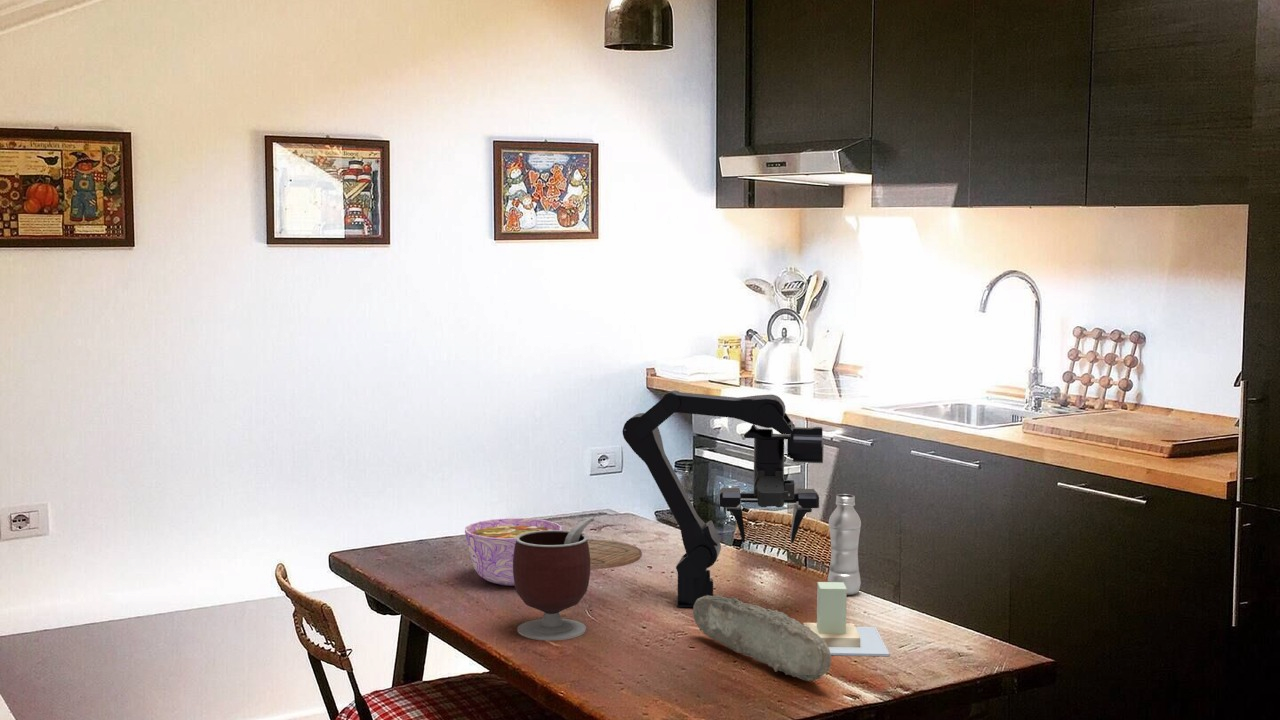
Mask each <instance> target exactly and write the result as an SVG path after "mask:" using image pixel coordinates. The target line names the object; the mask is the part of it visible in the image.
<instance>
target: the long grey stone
mask: <svg viewBox="0 0 1280 720" xmlns="http://www.w3.org/2000/svg"><path fill="white" fill-rule="evenodd" d="M692 608H693V610H692V611H693V612H692V613H693V619H694V622H695V624H696V626H697V627H698V628H699V631H702V633H703V635H705V636H707V637H708V638H710V639H712V640H713V641H715V642H717V643H720V644H722V645H724V646H725V647H726V648H728V649H731V650H732V651H733V652H735V653H737V654H738V653H741V654H742V655H743V656H747V657H750V658H753V659H754V660H756V661H757V662H760V663H762V664H764V665H765V664H766V665H768V667H769V668H772V669H773V670H774V672H776V673H777V672H778V671H779V672H782V673H784V675H786V676H790V677H793V678H798V679H800V680H802V681H806V682H812V681H816V680H820V679H822V677H823V676H824V675H826V674H827V673H828V672H829V670H830V668H831V665H832V664H831V663H832V655H831V654H830V650H829V647H828V646H827V644H826V642H825V641H824V640H823V639H822V638H821V637H820V636H819V635H817V634H816V633H814V632H813V631H812V630H810V628H809V627H807V626H804V625H803V623H801V622H800V621H799V620H796V618H792V617H789V616H788V614H786V613H784V612H783V611H778V610H777V609H775V610H773V609H770V608H768V609H766V608H764V607H762V606H759V605H755V604H751V603H746V602H743V601H741V600H739V599H738V598H736V597H729V598H728V597H726V596H722V595H718V594H717V595H713V596H709V595H707V596H703V597H700V598H698V599H697V600H696V602H695V604H694V607H692Z"/></svg>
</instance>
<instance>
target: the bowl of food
mask: <svg viewBox="0 0 1280 720" xmlns="http://www.w3.org/2000/svg"><path fill="white" fill-rule="evenodd" d="M544 530H563V527H562V525H560V524H559V523H556V522H553V521H549V520H546V519H545V520H544V519H537V518H521V517H517V518H516V517H514V518H513V517H512V518H511V517H510V518H508V517H507V518H497V519H489V520H482V521H478V522H475V523H471V524H468V525H467V526H465V527H464V534H465V538H466V539H465V540H466V543H467V547H468V551H469V554H470V555H469V556H470V559H471V563H472V565H473V568H474V570H475V572H476V573H477V574H478V576H479V577H481V578H482V579H484V580H485V581H487V582H489V583H493V584H498V585H501V586H511V587H513V586H514V587H515V583H514V577H513V555H514V548H515V543H516V537H517V536H518V535H520V534H524V533H528V532H533V531H544Z"/></svg>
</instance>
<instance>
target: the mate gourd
mask: <svg viewBox="0 0 1280 720" xmlns="http://www.w3.org/2000/svg"><path fill="white" fill-rule="evenodd" d="M594 521H595V519H594V517H593V516H591V517H588V518H586V519H585V520H583V521H581V522H580V523H577V524H576V525H575V526H573V527H572V528H571V529H570V530H563V529H562V530H544V531H533V532H528V533H524V534H520V535H518V536H517V537H516V543H515V548H514V555H513V577H514V583H515V586H514V587H515V591H516V593H517V596H519V597H520V599H521V600H522V601H523V604H525V605H526V606H527V607H530V608H533V609H535V610H538V611H541V612H543V617H542V618H539V619H532V620H528V621H525V622H523V623H521V624H519V625H518V626H517V633H518V634H519V635H521V636H522V637H525V638H528V639H532V640H537V641H561V640H562V641H565V640H570V639H574V638H577V637H579V636H582V635H583V634H585V632H586V630H587V627H586V625H585V624H584V623H583V622H580V621H578V620H574V619H570V618H562V617H561V614H560V613H561V612H562V611H564V610H567V609H569V608H571V607H574V606H576V605H578V604H579V603H580V601H581V600H582V599H583V597H584V596H585V594H587V593H586V592H587V591H588V588H589V583H590V577H591V569H590V552H589V545H588V541H587V540H588V536H587V535H586V534H584V533H583V532H584V530H585V529H586V528H587V526H588V525H589V524H590V523H592V522H594Z"/></svg>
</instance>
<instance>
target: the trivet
mask: <svg viewBox="0 0 1280 720" xmlns="http://www.w3.org/2000/svg"><path fill="white" fill-rule="evenodd" d="M587 541H588V545H589V552H590V570H597V569H611V568H617V567H623V566H627V565H630V564H633V563H636V562H637V561H639V560H640V559H641V558H642V555H643V552H642V550H641V549H640V548H639V547H638V546H636V545H633V544H630V543H627V542H622V541H614V540H607V539H606V540H605V539H587Z"/></svg>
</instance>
